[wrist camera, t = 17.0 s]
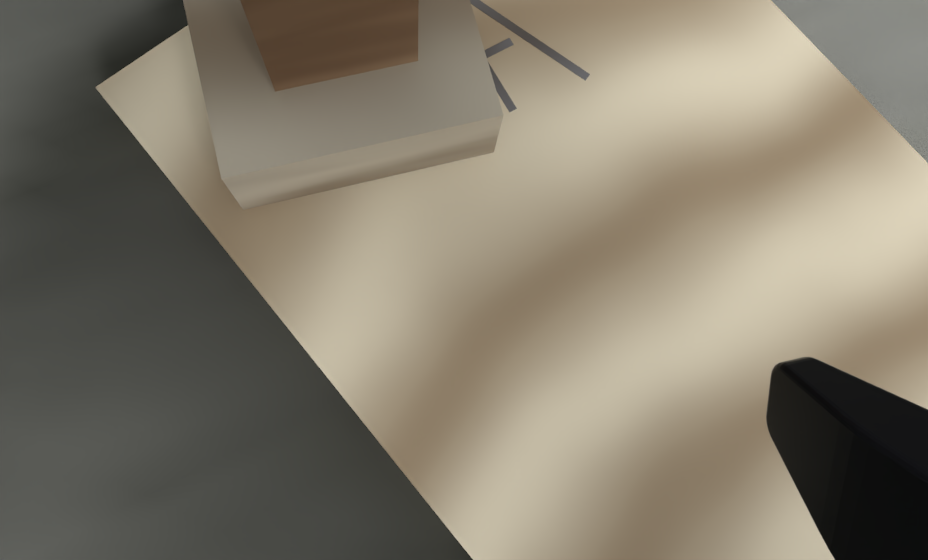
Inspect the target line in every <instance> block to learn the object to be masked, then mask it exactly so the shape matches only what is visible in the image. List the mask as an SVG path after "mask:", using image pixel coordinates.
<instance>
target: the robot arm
mask: <svg viewBox="0 0 928 560" xmlns="http://www.w3.org/2000/svg"><path fill="white" fill-rule="evenodd" d="M766 422H767V427H768V431H769V434H770V436H771V438H772V440H773V442H774V444H775V446H776V448H777V450H778V452H779V454H780V456H781V458H782V460H783V462H784V464H785V466H786V468H787V470H788V472H789V474H790V476H791V478H792V480H793V482H794V484H795V486H796V488H797V489H798V491H799V493H800V495H801V497H802V499H803V501H804V503H805V505H806V507H807V509H808V511H809V513H810V515H811V517H812V519H813V521H814V523H815V525H816V527H817V529H818V531H819V533H820V534H821V536H822V538H823V540H824V542H825V544H826V545H827V547H828V549H829V551H830V553H831V554H832V556H833V557H834V559H835V560H928V409H926V408H924V407H921V406H919V405H917V404H915V403H913V402H910V401H908V400H906V399H904V398H902V397H899V396H897V395H895V394H893V393H891V392H888V391H886V390H884V389H882V388H880V387H877V386H875V385H873V384H871V383H869V382H866V381H864V380H862V379H860V378H858V377H855V376H853V375H851V374H849V373H846V372H844V371H842V370H840V369H838V368H835V367H833V366H831V365H829V364H827V363H824V362H822V361H820V360H818V359H815V358H812V357H801V358H797V359H792V360H788V361H783V362H780V363H778V364H776V365H775V366H774V368H773V369H772V372H771V378H770V386H769V395H768V403H767V411H766Z"/></svg>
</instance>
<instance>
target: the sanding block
mask: <svg viewBox="0 0 928 560" xmlns="http://www.w3.org/2000/svg"><path fill="white" fill-rule="evenodd" d="M183 3H184V8H185V12H186V17H187V22H188V26H189V31H190V36H191V40H192V45H193V49H194V54H195V59H196V63H197V68H198V73H199V77H200V82H201V87H202V91H203V96H204V100H205V105H206V110H207V114H208V119H209V124H210V128H211V133H212V138H213V142H214V147H215V151H216V156H217V161H218V165H219V170H220V175H221V179H222V180H223V182H224V183H225V185H226V186H227V188H228V189H229V190H230V192H231V193H232V195H233V196H234V197H235V199H236V200H237V202H238V203H239V205H240V206H241V207H242V209H243V210H246V209H250V208H254V207H259V206H263V205H267V204H272V203H276V202H280V201H285V200H289V199H294V198H298V197H302V196H307V195H311V194H315V193H320V192H324V191H328V190H333V189H337V188H341V187H346V186H350V185H354V184H359V183H363V182H367V181H372V180H376V179H380V178H385V177H389V176H393V175H398V174H402V173H406V172H411V171H415V170H419V169H424V168H428V167H432V166H437V165H441V164H445V163H450V162H454V161H458V160H463V159H467V158H471V157H476V156H480V155H484V154H489V153H493V152H494V150H495V146H496V142H497V138H498V134H499V131H500V127H501V123H502V119H503V112H502V108H501V105H500V101H499V98H498V95H497V91H496V88H495V84H494V81H493V78H492V74H491V71H490V67H489V64H488V61H487V57H486V54H485V50H484V47H483V43H482V40H481V37H480V33H479V30H478V26H477V23H476V20H475V16H474V13H473V9H472V6H471V2H470V0H183Z"/></svg>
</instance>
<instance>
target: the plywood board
mask: <svg viewBox="0 0 928 560" xmlns="http://www.w3.org/2000/svg"><path fill="white" fill-rule="evenodd" d="M470 2H471V6H472V9H473V13H474V16H475V20H476V23H477V26H478V30H479V33H480V37H481V40H482V43H483V47H484V50H485V54H486V57H487V61H488V64H489V67H490V71H491V74H492V78H493V81H494V84H495V88H496V91H497V95H498V98H499V101H500V105H501V108H502V112H503V119H502V123H501V127H500V131H499V134H498V138H497V142H496V146H495V150H494V152H493V153H489V154H484V155H480V156H476V157H471V158H467V159H463V160H458V161H454V162H450V163H445V164H441V165H437V166H432V167H428V168H424V169H419V170H415V171H411V172H406V173H402V174H398V175H393V176H389V177H385V178H380V179H376V180H372V181H367V182H363V183H359V184H354V185H350V186H346V187H341V188H337V189H333V190H328V191H324V192H320V193H315V194H311V195H307V196H302V197H298V198H294V199H289V200H285V201H280V202H276V203H272V204H267V205H263V206H259V207H254V208H250V209H246V210H243V209H242V207H241V206H240V205H239V203H238V202H237V200H236V199H235V197H234V196H233V195H232V193H231V192H230V190H229V189H228V188H227V186H226V185H225V183H224V182H223V180H222V179H221V175H220V170H219V165H218V161H217V156H216V151H215V147H214V142H213V138H212V133H211V128H210V124H209V119H208V114H207V110H206V105H205V100H204V96H203V91H202V87H201V82H200V77H199V73H198V68H197V63H196V59H195V54H194V49H193V45H192V40H191V36H190V31H189V26H188V25H187V26H186V27H184V28H183V29H181V30H180V31H178V32H177V33H175V34H174V35H172V36H171V37H169V38H168V39H166V40H165V41H163V42H162V43H160V44H159V45H157V46H156V47H154V48H153V49H152V50H150V51H149V52H147V53H146V54H144V55H143V56H141V57H140V58H138V59H137V60H135V61H134V62H132V63H131V64H129V65H128V66H126V67H125V68H123V69H122V70H120V71H119V72H117V73H116V74H114V75H113V76H111V77H110V78H108V79H107V80H105V81H104V82H102V83H101V84H99V85H98V86H96V87H95V88H96V89H97V90H98V91H99V93H100V94H101V95H102V96H103V98H104V99H105V100H106V101H107V103H108V104H109V105H110V106H111V108H112V109H113V110H114V111H115V113H116V114H117V115H118V116H119V118H120V119H121V120H122V121H123V123H124V124H125V125H126V126H127V128H128V129H129V130H130V131H131V133H132V134H133V135H134V136H135V138H136V139H137V140H138V141H139V143H140V144H141V145H142V146H143V148H144V149H145V150H146V151H147V153H148V154H149V155H150V156H151V158H152V159H153V160H154V161H155V163H156V164H157V165H158V166H159V168H160V169H161V170H162V171H163V173H164V174H165V175H166V176H167V178H168V179H169V180H170V181H171V183H172V184H173V185H174V186H175V188H176V189H177V190H178V191H179V193H180V194H181V195H182V196H183V198H184V199H185V200H186V201H187V203H188V204H189V205H190V206H191V208H192V209H193V210H194V211H195V213H196V214H197V215H198V216H199V218H200V219H201V220H202V221H203V223H204V224H205V225H206V226H207V228H208V229H209V230H210V231H211V233H212V234H213V235H214V236H215V238H216V239H217V240H218V241H219V243H220V244H221V245H222V246H223V248H224V249H225V250H226V251H227V253H228V254H229V255H230V256H231V258H232V259H233V260H234V261H235V263H236V264H237V265H238V266H239V268H240V269H241V270H242V271H243V273H244V274H245V275H246V276H247V278H248V279H249V280H250V281H251V283H252V284H253V285H254V286H255V288H256V289H257V290H258V291H259V293H260V294H261V295H262V296H263V298H264V299H265V300H266V301H267V303H268V304H269V305H270V306H271V308H272V309H273V310H274V311H275V313H276V314H277V315H278V316H279V318H280V319H281V320H282V321H283V323H284V324H285V325H286V326H287V328H288V329H289V330H290V331H291V333H292V334H293V335H294V336H295V338H296V339H297V340H298V341H299V343H300V344H301V345H302V346H303V348H304V349H305V350H306V351H307V353H308V354H309V355H310V357H311V358H312V359H313V360H314V362H315V363H316V364H317V365H318V367H319V368H320V369H321V370H322V372H323V373H324V374H325V375H326V377H327V378H328V379H329V380H330V382H331V383H332V384H333V385H334V387H335V388H336V389H337V390H338V392H339V393H340V394H341V395H342V397H343V398H344V399H345V400H346V402H347V403H348V404H349V405H350V407H351V408H352V409H353V410H354V412H355V413H356V414H357V415H358V417H359V418H360V419H361V420H362V422H363V423H364V424H365V425H366V427H367V428H368V429H369V430H370V432H371V433H372V434H373V435H374V437H375V438H376V439H377V440H378V442H379V443H380V444H381V445H382V447H383V448H384V449H385V450H386V452H387V453H388V454H389V455H390V457H391V458H392V459H393V460H394V462H395V463H396V464H397V465H398V467H399V468H400V469H401V470H402V472H403V473H404V474H405V475H406V477H407V478H408V479H409V480H410V482H411V483H412V484H413V485H414V487H415V488H416V489H417V490H418V492H419V493H420V494H421V495H422V497H423V498H424V499H425V500H426V502H427V503H428V504H429V505H430V507H431V508H432V509H433V510H434V512H435V513H436V514H437V515H438V517H439V518H440V519H441V520H442V522H443V523H444V524H445V525H446V527H447V528H448V529H449V530H450V532H451V533H452V534H453V535H454V537H455V538H456V539H457V540H458V542H459V543H460V544H461V545H462V547H463V548H464V549H465V550H466V552H467V553H468V554H469V555H470V557H471V558H472V559H473V560H835V559H834V557H833V556H832V554H831V553H830V551H829V549H828V547H827V545H826V544H825V542H824V540H823V538H822V536H821V534H820V533H819V531H818V529H817V527H816V525H815V523H814V521H813V519H812V517H811V515H810V513H809V511H808V509H807V507H806V505H805V503H804V501H803V499H802V497H801V495H800V493H799V491H798V489H797V488H796V486H795V484H794V482H793V480H792V478H791V476H790V474H789V472H788V470H787V468H786V466H785V464H784V462H783V460H782V458H781V456H780V454H779V452H778V450H777V448H776V446H775V444H774V442H773V440H772V438H771V436H770V434H769V431H768V427H767V422H766V411H767V403H768V395H769V386H770V378H771V372H772V369H773V368H774V366H775V365H776V364H778V363H780V362H783V361H788V360H792V359H797V358H801V357H812V358H815V359H818V360H820V361H822V362H824V363H827V364H829V365H831V366H833V367H835V368H838V369H840V370H842V371H844V372H846V373H849V374H851V375H853V376H855V377H858V378H860V379H862V380H864V381H866V382H869V383H871V384H873V385H875V386H877V387H880V388H882V389H884V390H886V391H888V392H891V393H893V394H895V395H897V396H899V397H902V398H904V399H906V400H908V401H910V402H913V403H915V404H917V405H919V406H921V407H924V408H926V409H928V163H927V162H926V161H925V160H924V159H923V158H922V157H921V156H920V155H919V154H918V153H917V151H916V150H915V149H914V148H913V147H912V146H911V145H910V144H909V143H908V142H907V141H906V140H905V139H904V138H903V137H902V136H901V135H900V134H899V133H898V132H897V131H896V130H895V129H894V128H893V127H892V125H891V124H890V123H889V122H888V121H887V120H886V119H885V118H884V117H883V116H882V115H881V114H880V113H879V112H878V111H877V110H876V109H875V108H874V107H873V106H872V105H871V104H870V103H869V102H868V101H867V100H866V98H865V97H864V96H863V95H862V94H861V93H860V92H859V91H858V90H857V89H856V88H855V87H854V86H853V85H852V84H851V83H850V82H849V81H848V80H847V79H846V78H845V77H844V76H843V75H842V74H841V72H840V71H839V70H838V69H837V68H836V67H835V66H834V65H833V64H832V63H831V62H830V61H829V60H828V59H827V58H826V57H825V56H824V55H823V54H822V53H821V52H820V51H819V50H818V49H817V48H816V47H815V45H814V44H813V43H812V42H811V41H810V40H809V39H808V38H807V37H806V36H805V35H804V34H803V33H802V32H801V31H800V30H799V29H798V28H797V27H796V26H795V25H794V24H793V23H792V22H791V21H790V19H789V18H788V17H787V16H786V15H785V14H784V13H783V12H782V11H781V10H780V9H779V8H778V7H777V6H776V5H775V4H774V3H773V2H772V1H771V0H470Z"/></svg>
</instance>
